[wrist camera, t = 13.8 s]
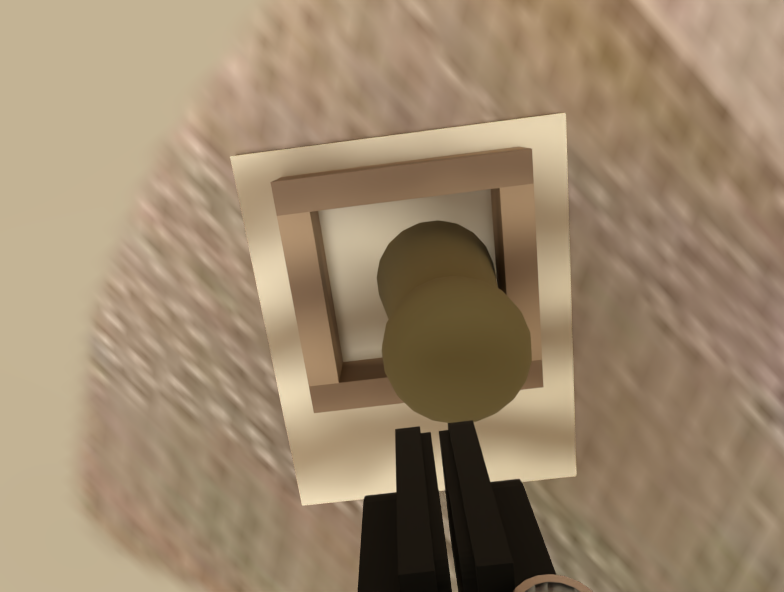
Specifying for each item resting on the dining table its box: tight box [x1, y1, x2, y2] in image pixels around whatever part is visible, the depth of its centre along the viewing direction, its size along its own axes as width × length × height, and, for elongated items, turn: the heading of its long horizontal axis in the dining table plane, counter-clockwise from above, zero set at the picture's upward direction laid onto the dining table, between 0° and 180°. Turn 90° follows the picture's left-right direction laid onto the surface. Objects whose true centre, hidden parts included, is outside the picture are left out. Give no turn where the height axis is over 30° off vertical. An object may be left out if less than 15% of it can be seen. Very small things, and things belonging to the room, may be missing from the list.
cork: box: [377, 220, 532, 423], centre depth 23 cm, size 6×6×11 cm
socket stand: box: [230, 113, 576, 506], centre depth 28 cm, size 20×16×4 cm
